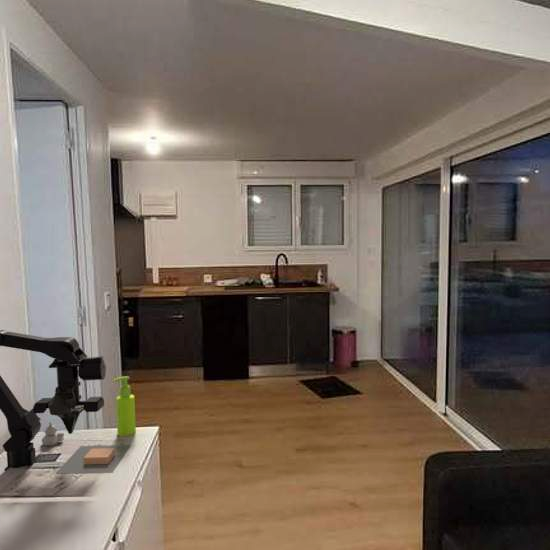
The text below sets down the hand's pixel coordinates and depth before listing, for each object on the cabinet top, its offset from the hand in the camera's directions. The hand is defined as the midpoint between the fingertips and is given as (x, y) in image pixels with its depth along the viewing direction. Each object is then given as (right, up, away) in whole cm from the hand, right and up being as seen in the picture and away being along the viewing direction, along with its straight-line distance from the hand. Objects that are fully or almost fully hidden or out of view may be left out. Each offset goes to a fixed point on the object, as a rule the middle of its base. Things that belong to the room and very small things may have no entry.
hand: (70, 433), depth 138 cm
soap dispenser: (+10, -8, +20) cm, 24 cm away
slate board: (+7, -9, +1) cm, 11 cm away
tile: (+5, -7, 0) cm, 8 cm away
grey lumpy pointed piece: (-11, -9, +13) cm, 19 cm away
